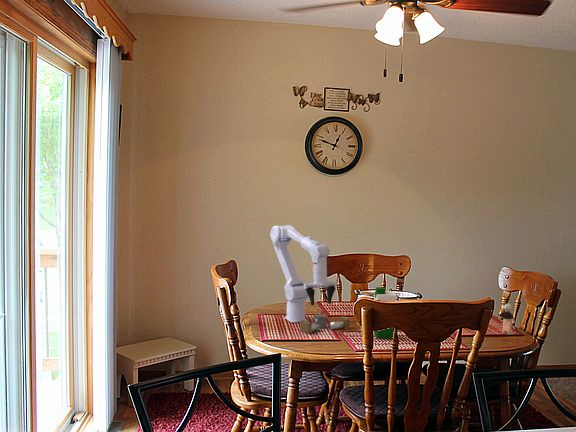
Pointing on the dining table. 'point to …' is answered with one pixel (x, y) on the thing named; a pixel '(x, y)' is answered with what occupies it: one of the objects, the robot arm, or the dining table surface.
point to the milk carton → (384, 296)
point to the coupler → (320, 320)
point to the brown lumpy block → (308, 327)
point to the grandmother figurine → (507, 319)
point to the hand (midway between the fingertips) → (320, 304)
